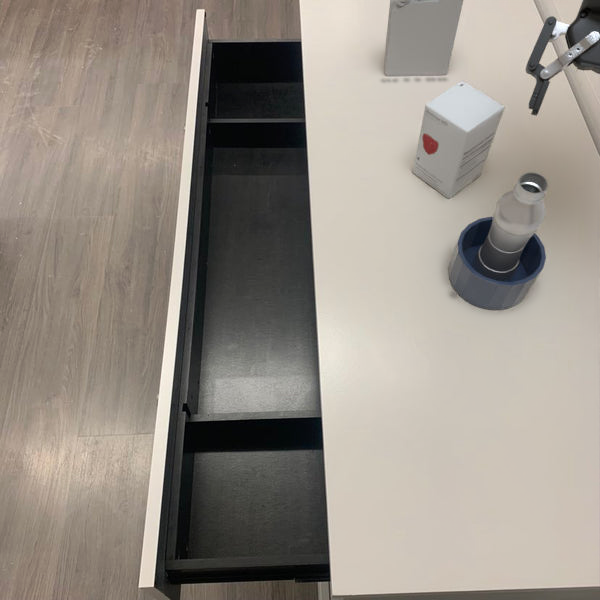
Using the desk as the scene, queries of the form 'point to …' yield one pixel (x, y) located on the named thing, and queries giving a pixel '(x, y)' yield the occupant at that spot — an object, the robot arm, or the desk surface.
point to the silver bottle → (512, 228)
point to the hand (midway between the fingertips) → (570, 123)
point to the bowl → (485, 289)
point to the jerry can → (420, 36)
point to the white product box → (456, 138)
